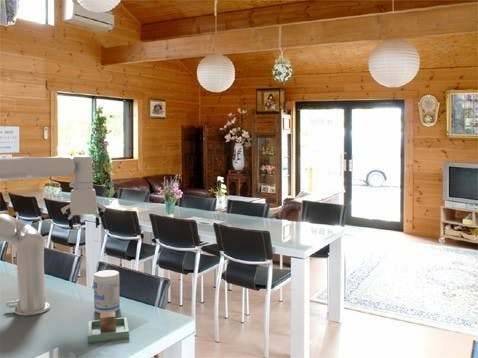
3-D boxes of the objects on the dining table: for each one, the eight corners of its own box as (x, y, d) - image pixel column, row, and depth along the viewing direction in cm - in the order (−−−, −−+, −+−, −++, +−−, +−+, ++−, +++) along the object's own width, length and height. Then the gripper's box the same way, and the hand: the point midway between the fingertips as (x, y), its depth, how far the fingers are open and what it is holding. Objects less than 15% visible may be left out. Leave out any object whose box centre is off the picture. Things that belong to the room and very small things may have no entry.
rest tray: (88, 343, 154) (87, 335, 154) (88, 328, 167) (88, 320, 167) (128, 338, 158) (128, 331, 158) (126, 323, 171) (126, 316, 170)
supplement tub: (89, 312, 182) (88, 275, 181) (104, 304, 191) (103, 268, 189) (110, 315, 178) (109, 277, 177) (125, 307, 187) (124, 271, 186)
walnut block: (100, 335, 159) (100, 318, 159) (100, 329, 164) (100, 312, 164) (116, 333, 161) (115, 316, 160) (115, 327, 166) (115, 311, 165)
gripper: (59, 187, 184) (61, 231, 186) (105, 186, 189) (106, 228, 191) (61, 185, 192) (62, 227, 193) (105, 184, 196) (106, 225, 198)
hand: (84, 228), depth 192 cm, fingers open, 9 cm apart
